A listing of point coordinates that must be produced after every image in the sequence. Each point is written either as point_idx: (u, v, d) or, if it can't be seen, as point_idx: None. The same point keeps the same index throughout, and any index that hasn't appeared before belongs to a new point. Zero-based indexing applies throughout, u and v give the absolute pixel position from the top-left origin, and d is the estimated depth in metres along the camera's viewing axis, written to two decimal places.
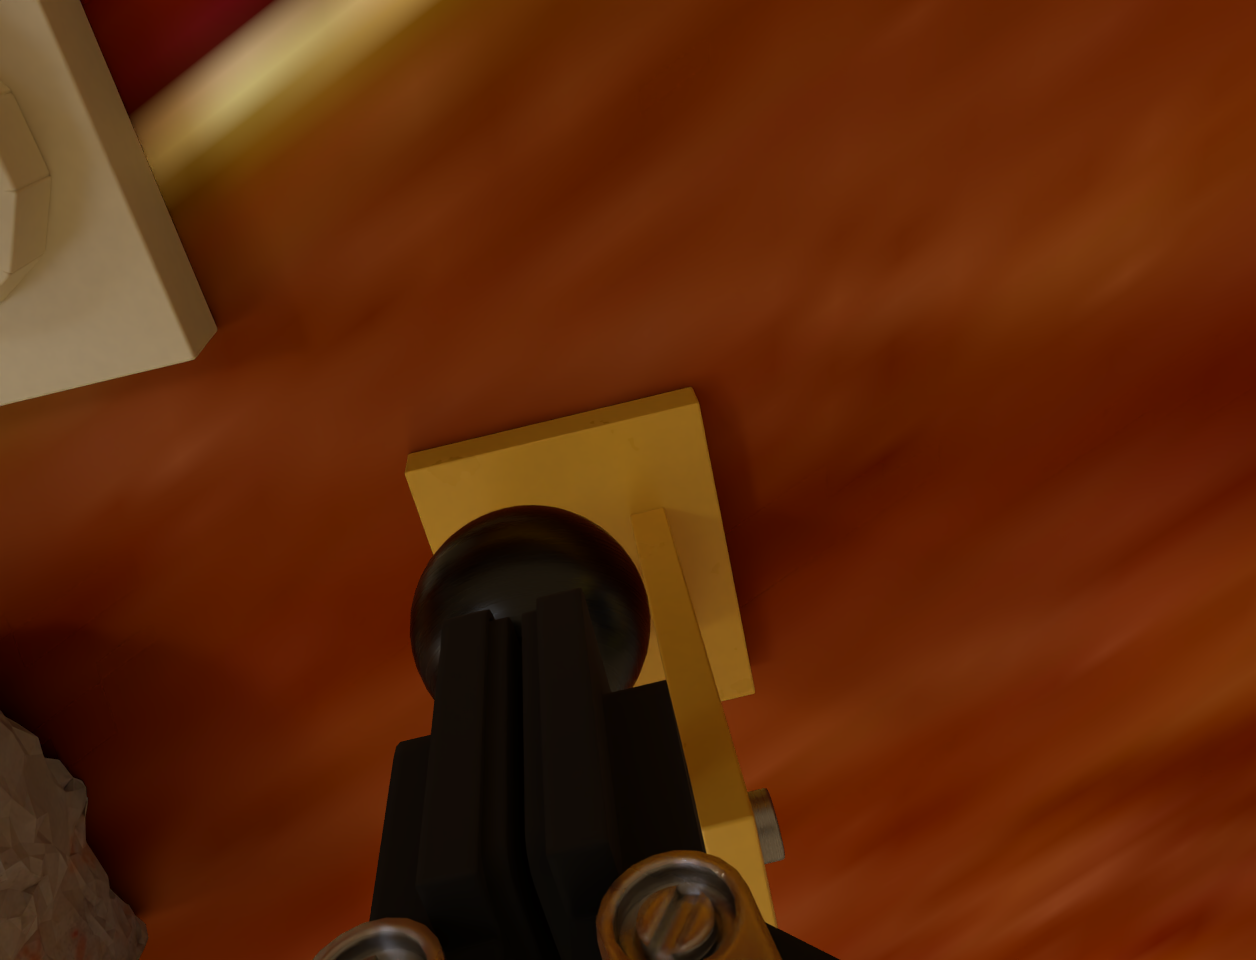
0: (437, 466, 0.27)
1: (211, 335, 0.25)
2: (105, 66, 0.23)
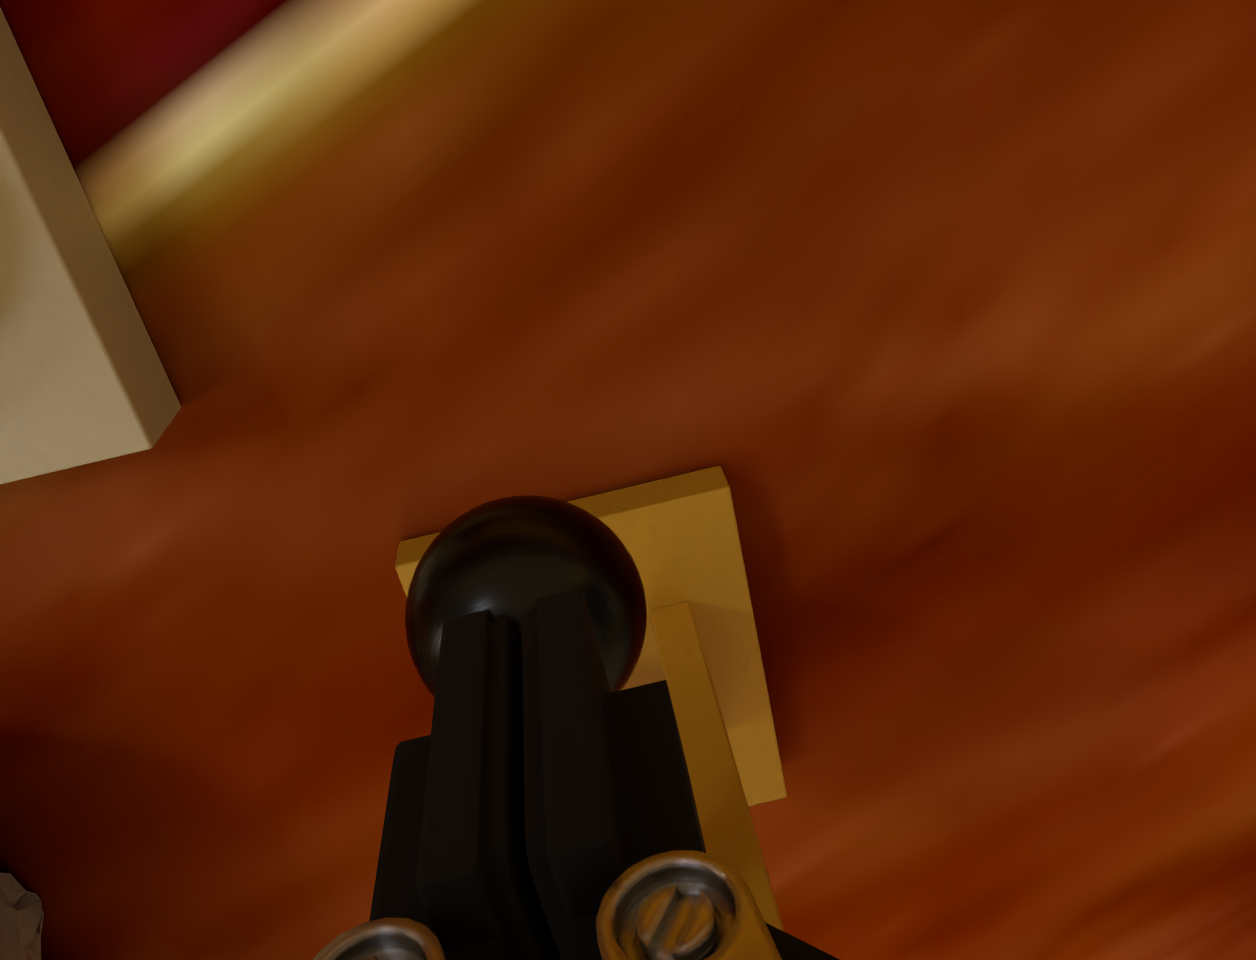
0: None
1: (173, 415, 0.22)
2: (45, 111, 0.20)
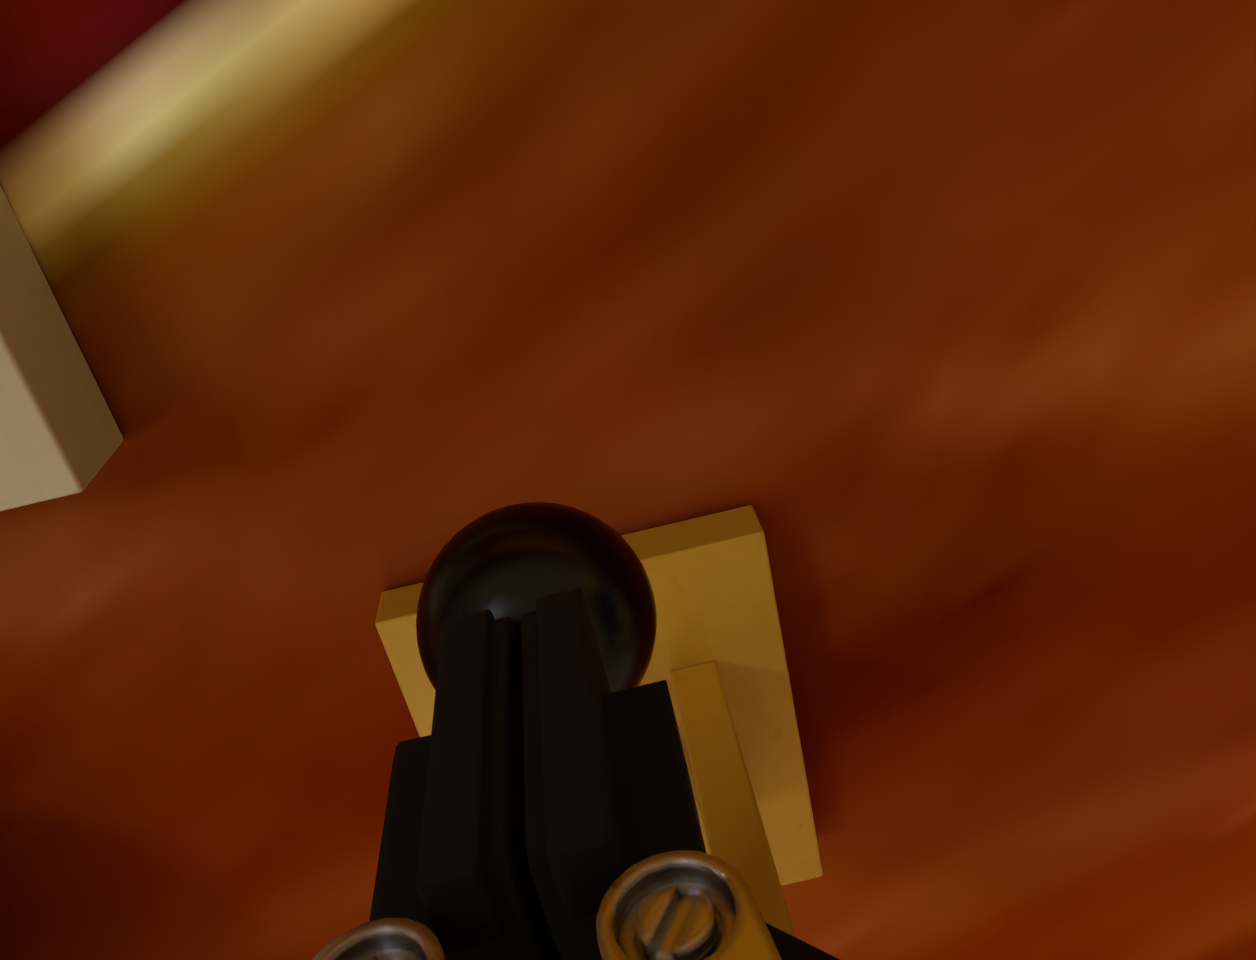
0: None
1: (113, 450, 0.19)
2: None
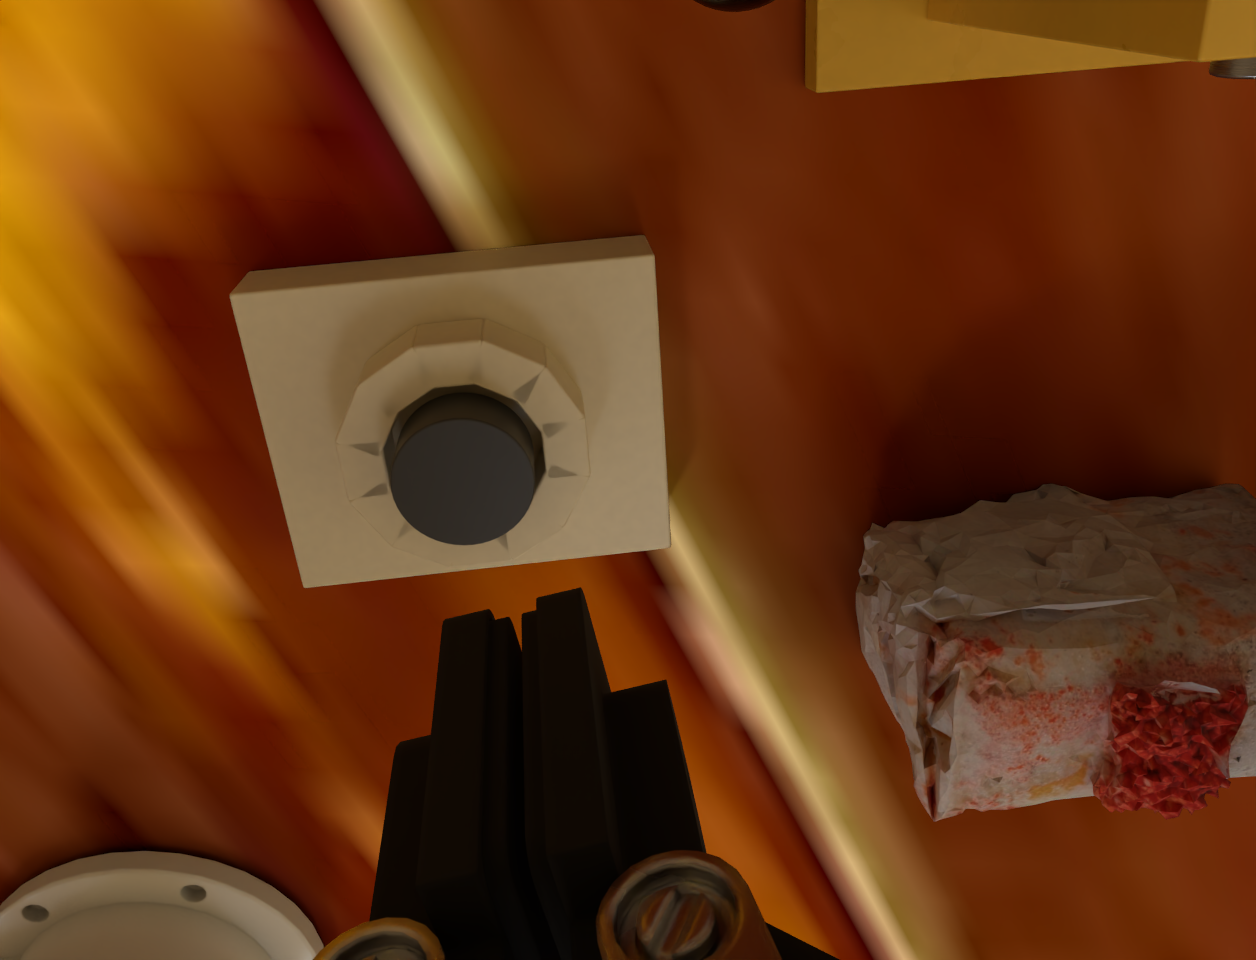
0: (818, 55, 0.26)
1: (645, 239, 0.28)
2: (415, 257, 0.28)
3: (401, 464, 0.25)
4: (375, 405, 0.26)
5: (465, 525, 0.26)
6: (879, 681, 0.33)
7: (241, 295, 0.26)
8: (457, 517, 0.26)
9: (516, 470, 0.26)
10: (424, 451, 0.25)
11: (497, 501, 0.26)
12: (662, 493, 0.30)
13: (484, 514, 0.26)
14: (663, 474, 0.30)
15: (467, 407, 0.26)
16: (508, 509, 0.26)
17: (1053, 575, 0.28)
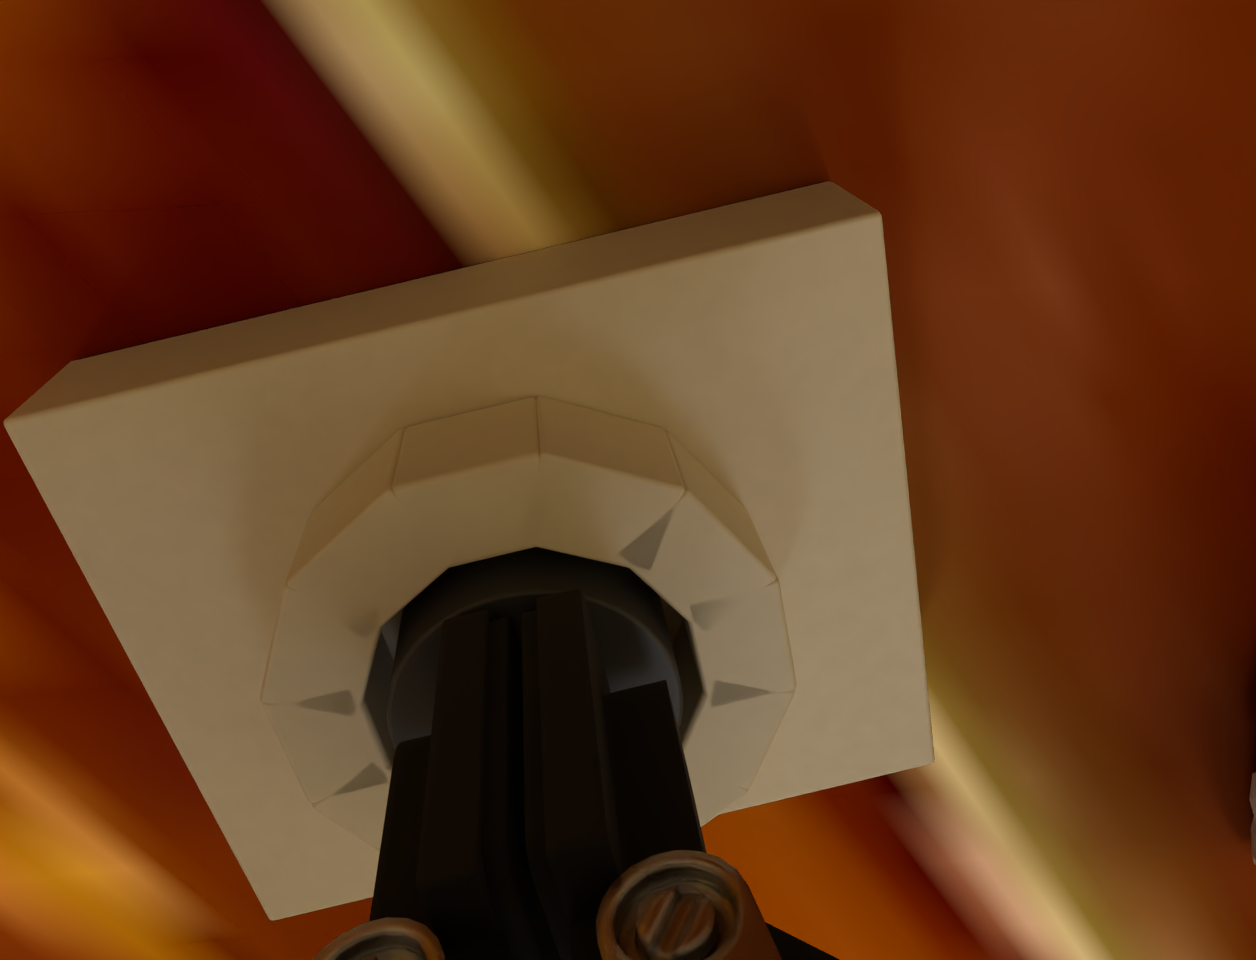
0: None
1: (839, 188, 0.14)
2: (385, 288, 0.14)
3: (406, 697, 0.12)
4: (330, 619, 0.12)
5: None
6: None
7: (27, 420, 0.12)
8: None
9: (642, 676, 0.12)
10: None
11: None
12: (916, 673, 0.16)
13: None
14: (915, 640, 0.15)
15: (527, 560, 0.12)
16: None
17: None
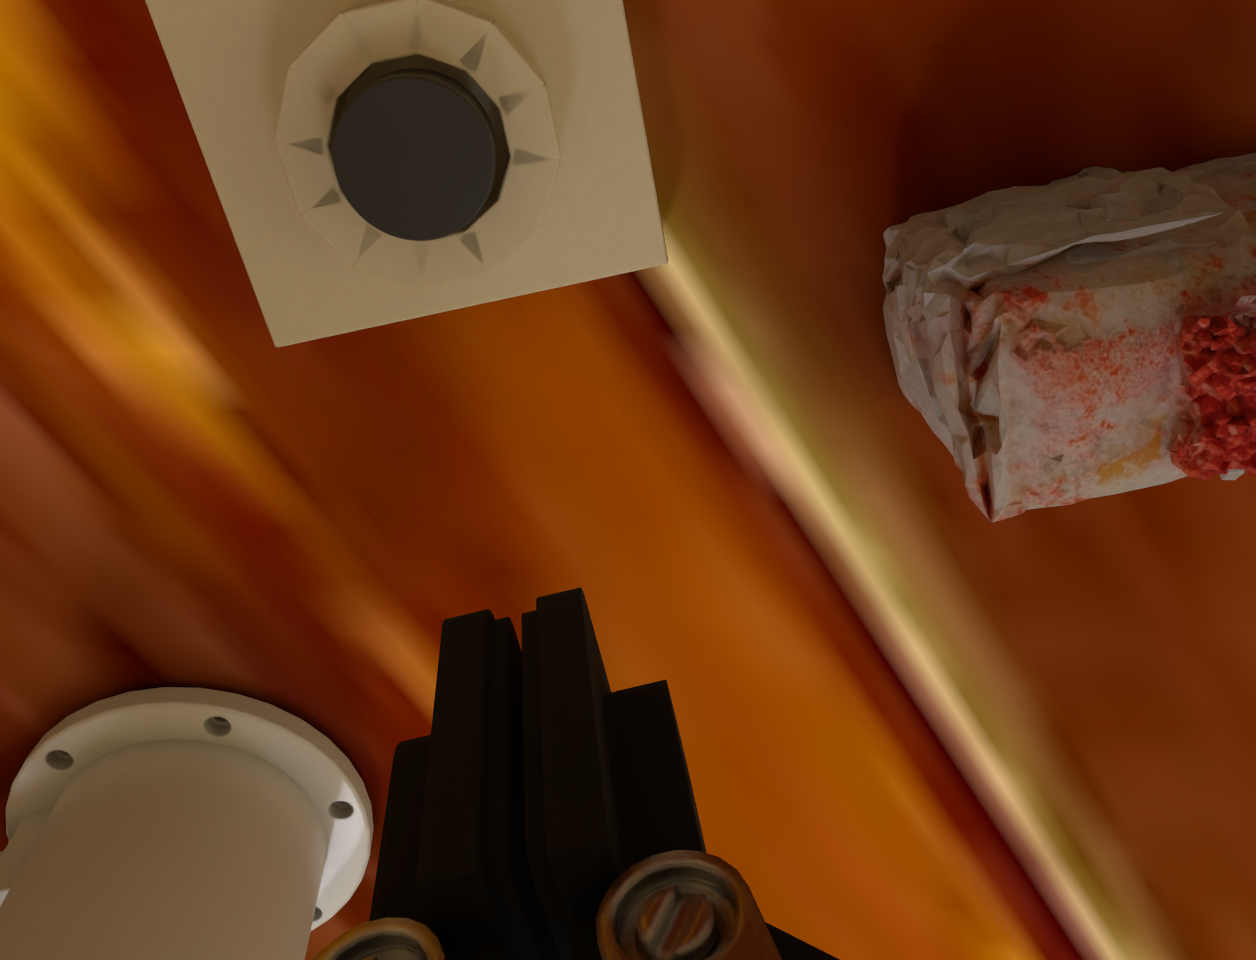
0: None
1: None
2: None
3: (342, 142, 0.23)
4: (311, 90, 0.24)
5: (424, 214, 0.24)
6: (919, 403, 0.30)
7: None
8: (414, 204, 0.24)
9: (471, 138, 0.23)
10: (365, 123, 0.23)
11: (455, 180, 0.23)
12: (650, 196, 0.27)
13: (443, 198, 0.24)
14: (647, 172, 0.27)
15: (410, 73, 0.23)
16: (469, 189, 0.23)
17: (1099, 214, 0.24)
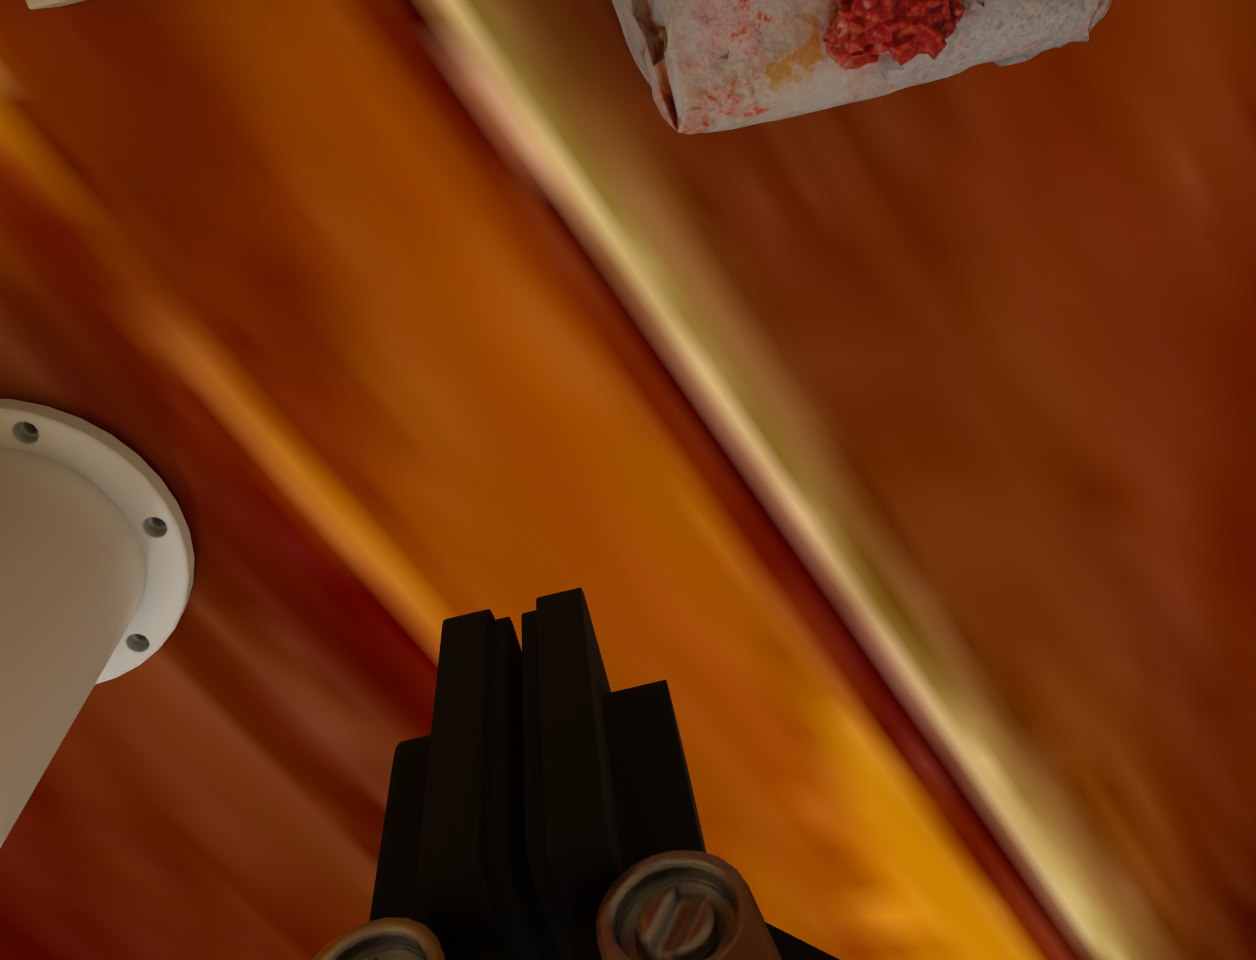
0: None
1: None
2: None
3: None
4: None
5: None
6: (643, 66, 0.32)
7: None
8: None
9: None
10: None
11: None
12: None
13: None
14: None
15: None
16: None
17: None
